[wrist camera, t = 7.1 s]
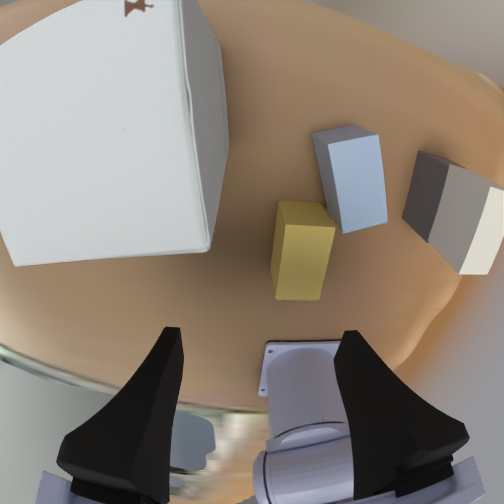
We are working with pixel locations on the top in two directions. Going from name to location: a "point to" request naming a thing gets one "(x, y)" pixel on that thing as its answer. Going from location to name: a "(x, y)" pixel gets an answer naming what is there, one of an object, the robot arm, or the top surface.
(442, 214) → the light grey brick
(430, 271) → the top surface
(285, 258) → the mustard brick
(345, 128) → the blue brick
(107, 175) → the supplement box
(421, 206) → the charcoal brick
